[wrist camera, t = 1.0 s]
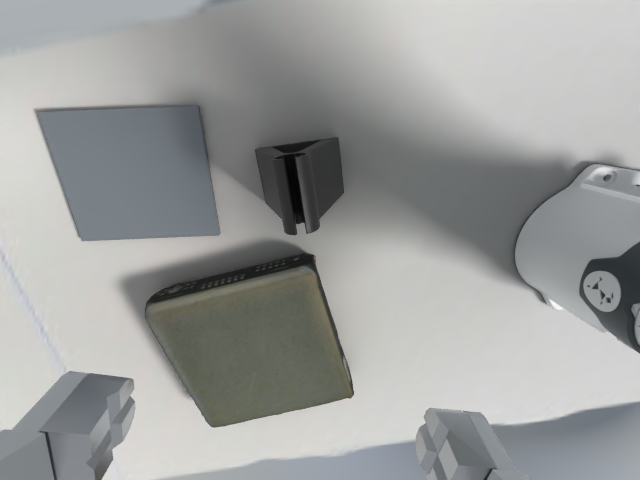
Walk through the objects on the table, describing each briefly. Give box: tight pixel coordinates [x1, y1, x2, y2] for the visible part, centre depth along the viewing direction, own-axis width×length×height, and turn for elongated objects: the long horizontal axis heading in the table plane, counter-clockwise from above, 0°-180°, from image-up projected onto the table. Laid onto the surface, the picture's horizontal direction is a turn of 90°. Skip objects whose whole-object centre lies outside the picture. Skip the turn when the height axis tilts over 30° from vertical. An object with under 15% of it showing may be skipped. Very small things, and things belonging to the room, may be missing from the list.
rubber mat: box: [37, 106, 220, 241], centre depth 35 cm, size 16×14×1 cm
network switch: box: [145, 254, 354, 427], centre depth 41 cm, size 23×23×5 cm
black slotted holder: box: [255, 138, 344, 235], centre depth 29 cm, size 9×6×12 cm, turn 97°
